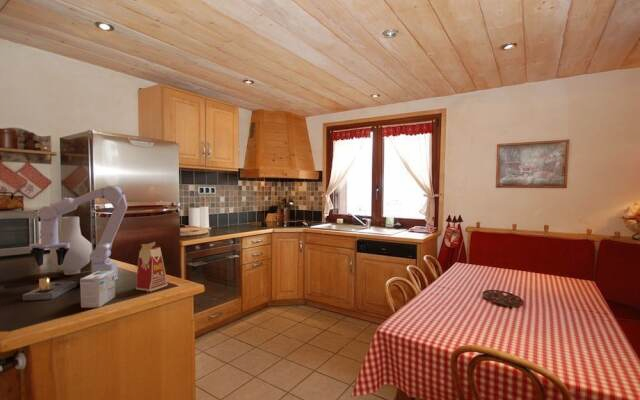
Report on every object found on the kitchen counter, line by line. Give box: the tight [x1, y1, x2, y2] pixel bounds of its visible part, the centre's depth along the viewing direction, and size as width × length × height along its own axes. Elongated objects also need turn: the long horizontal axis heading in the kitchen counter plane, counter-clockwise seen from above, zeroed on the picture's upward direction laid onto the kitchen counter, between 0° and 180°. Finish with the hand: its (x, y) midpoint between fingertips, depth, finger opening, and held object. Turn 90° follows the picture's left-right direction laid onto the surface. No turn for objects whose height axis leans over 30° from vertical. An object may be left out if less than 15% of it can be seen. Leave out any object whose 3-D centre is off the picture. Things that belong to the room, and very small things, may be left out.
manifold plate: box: [22, 280, 78, 302], centre depth 129 cm, size 10×16×2 cm, turn 10°
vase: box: [49, 216, 93, 276], centre depth 158 cm, size 17×16×28 cm
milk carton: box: [135, 241, 168, 292], centre depth 137 cm, size 9×9×20 cm
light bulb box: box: [79, 271, 116, 309], centre depth 120 cm, size 11×7×11 cm, turn 5°
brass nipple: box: [38, 277, 51, 293], centre depth 126 cm, size 3×3×7 cm
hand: (50, 265), depth 138 cm, fingers open, 7 cm apart
